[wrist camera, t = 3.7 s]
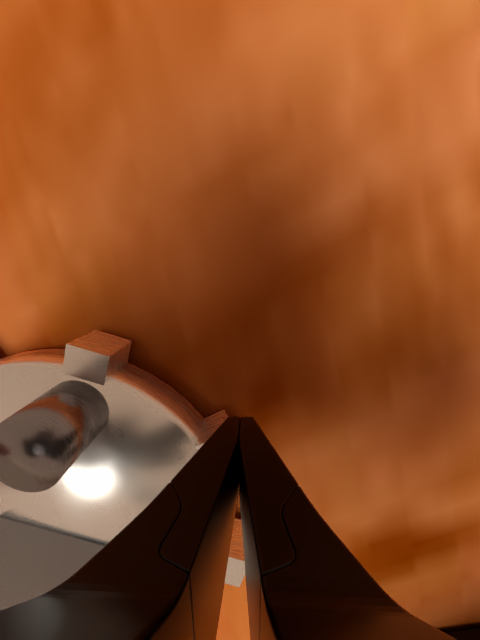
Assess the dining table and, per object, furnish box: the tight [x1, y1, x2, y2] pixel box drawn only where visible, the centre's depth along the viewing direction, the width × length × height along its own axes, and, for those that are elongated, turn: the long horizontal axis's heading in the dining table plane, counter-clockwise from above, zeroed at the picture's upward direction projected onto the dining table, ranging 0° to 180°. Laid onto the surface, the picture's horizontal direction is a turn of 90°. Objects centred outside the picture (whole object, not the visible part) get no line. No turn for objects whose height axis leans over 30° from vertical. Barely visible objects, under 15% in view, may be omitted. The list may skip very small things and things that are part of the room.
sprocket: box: [0, 330, 245, 611], centre depth 11 cm, size 17×17×4 cm
